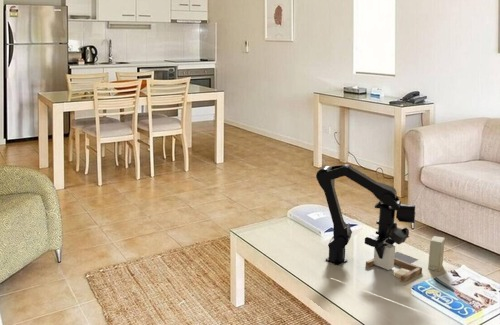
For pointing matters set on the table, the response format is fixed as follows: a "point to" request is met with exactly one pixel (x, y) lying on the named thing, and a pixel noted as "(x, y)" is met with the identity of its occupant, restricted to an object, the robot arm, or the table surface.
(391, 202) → the robot arm
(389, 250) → the off-white upright block
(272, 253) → the table surface
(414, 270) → the frame
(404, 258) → the felt pad
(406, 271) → the offcut slab upper
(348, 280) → the table surface
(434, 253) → the skincare box
